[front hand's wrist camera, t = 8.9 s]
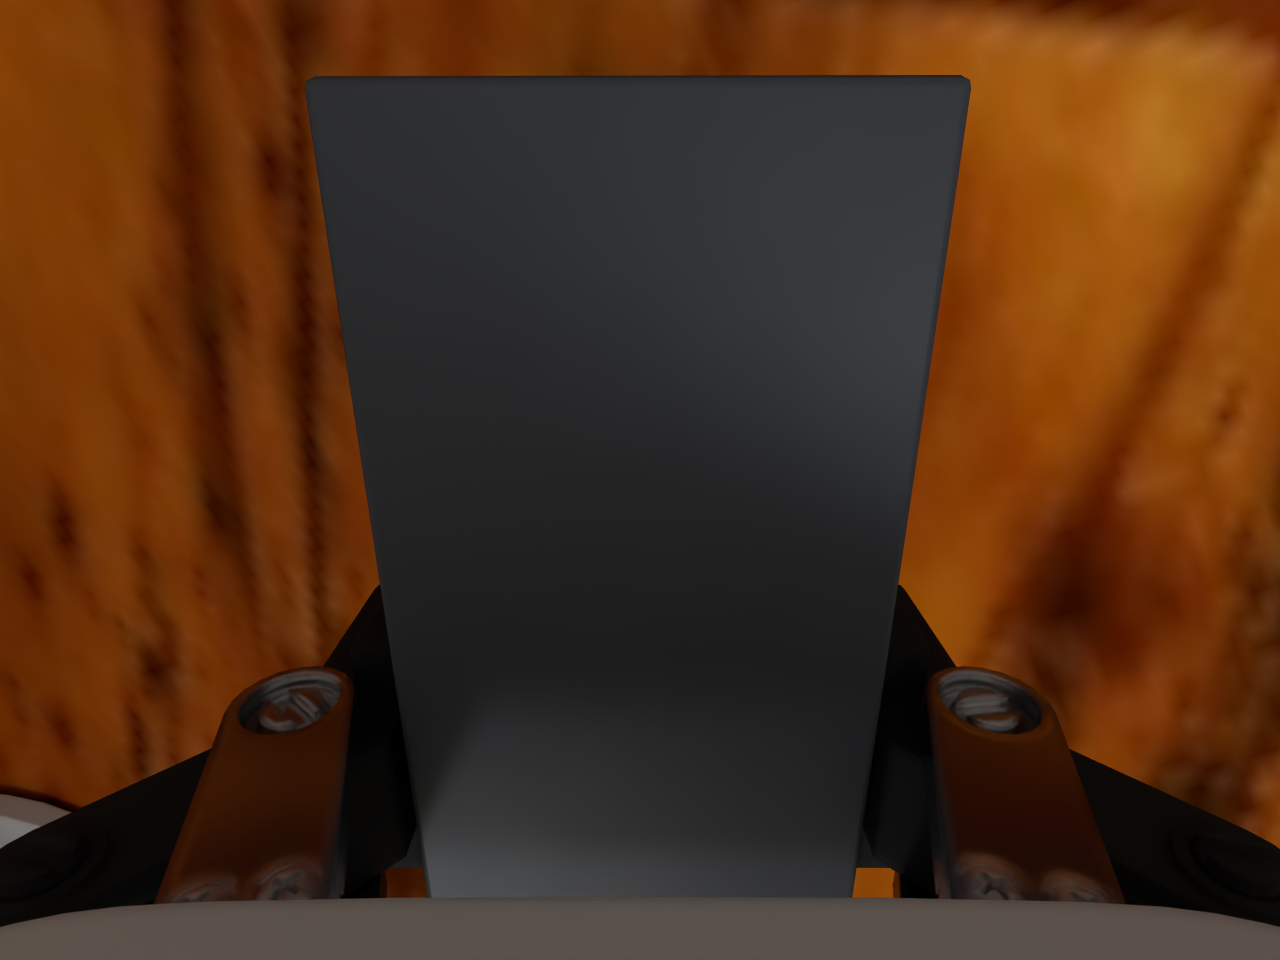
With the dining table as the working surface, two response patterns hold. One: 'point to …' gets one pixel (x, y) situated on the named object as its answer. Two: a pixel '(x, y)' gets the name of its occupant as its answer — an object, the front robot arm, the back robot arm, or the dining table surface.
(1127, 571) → the dining table surface
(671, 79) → the post
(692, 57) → the dining table surface
